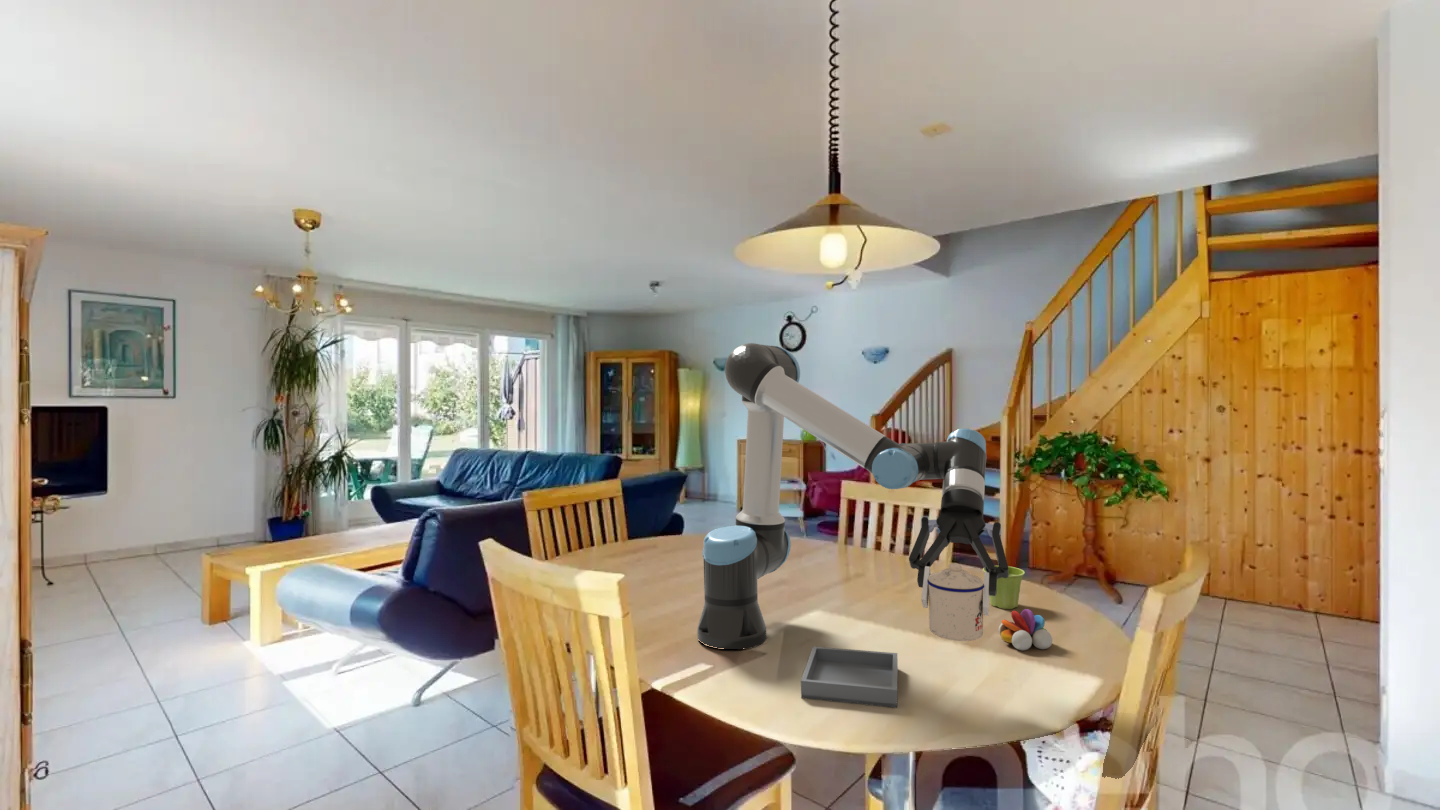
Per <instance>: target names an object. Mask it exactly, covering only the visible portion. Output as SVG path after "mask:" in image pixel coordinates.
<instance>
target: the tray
mask: <svg viewBox="0 0 1440 810" xmlns="http://www.w3.org/2000/svg"><path fill="white" fill-rule="evenodd" d="M898 663H899V662H898V652H889V651H875V650H863V649H850V648H838V647H825V646H812V649H811V651H810V654H809V657H808V660H807V663H806V664H805V668H804V671H803V675H802V676H801V679H800V695H801V697H800V698H801V699H805V698H807V700H816V701H827V702H835V703H836V702H837V703H846V704H854V705H864V706H875V707H885V708H894V709H895V708H896V709H898V682H899V681H898V680H899V679H898V676H899V675H898V673H899V671H898V670H899V668H898V667H899V666H898Z"/></svg>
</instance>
